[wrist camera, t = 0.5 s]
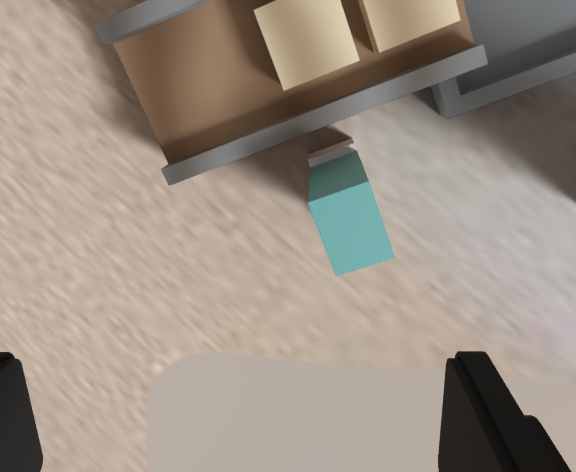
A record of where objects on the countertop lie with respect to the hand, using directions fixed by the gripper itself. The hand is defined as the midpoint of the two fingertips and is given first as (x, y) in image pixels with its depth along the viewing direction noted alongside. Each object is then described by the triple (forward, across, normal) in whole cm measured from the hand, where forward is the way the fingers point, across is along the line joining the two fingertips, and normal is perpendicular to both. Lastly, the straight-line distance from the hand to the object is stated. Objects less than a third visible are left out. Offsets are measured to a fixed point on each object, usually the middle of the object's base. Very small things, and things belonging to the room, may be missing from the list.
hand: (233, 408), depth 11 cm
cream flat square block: (+20, -2, -8) cm, 22 cm away
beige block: (+20, -6, -10) cm, 23 cm away
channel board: (+24, -1, -8) cm, 25 cm away
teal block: (+24, -4, 0) cm, 24 cm away
